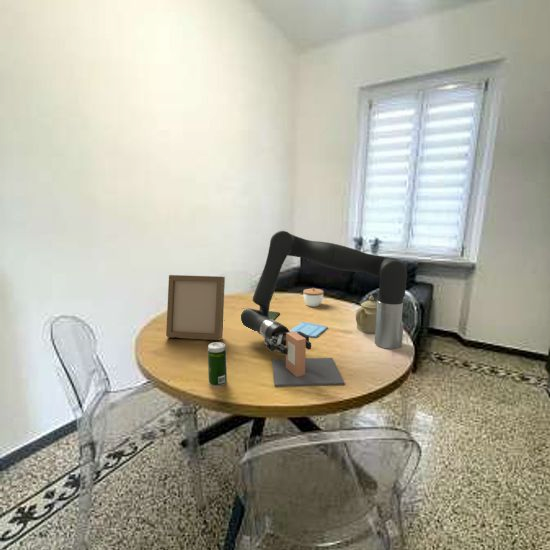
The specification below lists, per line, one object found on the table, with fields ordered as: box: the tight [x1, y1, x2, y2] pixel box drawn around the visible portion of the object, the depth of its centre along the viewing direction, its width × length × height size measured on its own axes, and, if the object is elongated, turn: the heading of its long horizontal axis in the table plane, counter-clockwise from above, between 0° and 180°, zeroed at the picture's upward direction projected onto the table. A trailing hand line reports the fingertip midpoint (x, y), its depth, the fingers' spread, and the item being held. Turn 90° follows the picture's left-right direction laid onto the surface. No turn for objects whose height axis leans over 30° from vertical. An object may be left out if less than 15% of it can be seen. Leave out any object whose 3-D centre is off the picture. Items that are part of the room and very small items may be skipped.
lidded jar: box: [302, 287, 325, 308], centre depth 182 cm, size 11×11×9 cm
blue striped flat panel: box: [289, 321, 328, 339], centre depth 147 cm, size 14×12×1 cm
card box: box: [285, 331, 307, 377], centre depth 109 cm, size 3×7×12 cm, turn 27°
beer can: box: [207, 341, 228, 388], centre depth 103 cm, size 5×5×12 cm
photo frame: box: [165, 274, 226, 341], centre depth 140 cm, size 15×22×25 cm
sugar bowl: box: [355, 294, 377, 334], centre depth 146 cm, size 15×11×15 cm
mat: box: [271, 357, 346, 387], centre depth 111 cm, size 21×17×1 cm
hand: (298, 349), depth 107 cm, fingers open, 8 cm apart
